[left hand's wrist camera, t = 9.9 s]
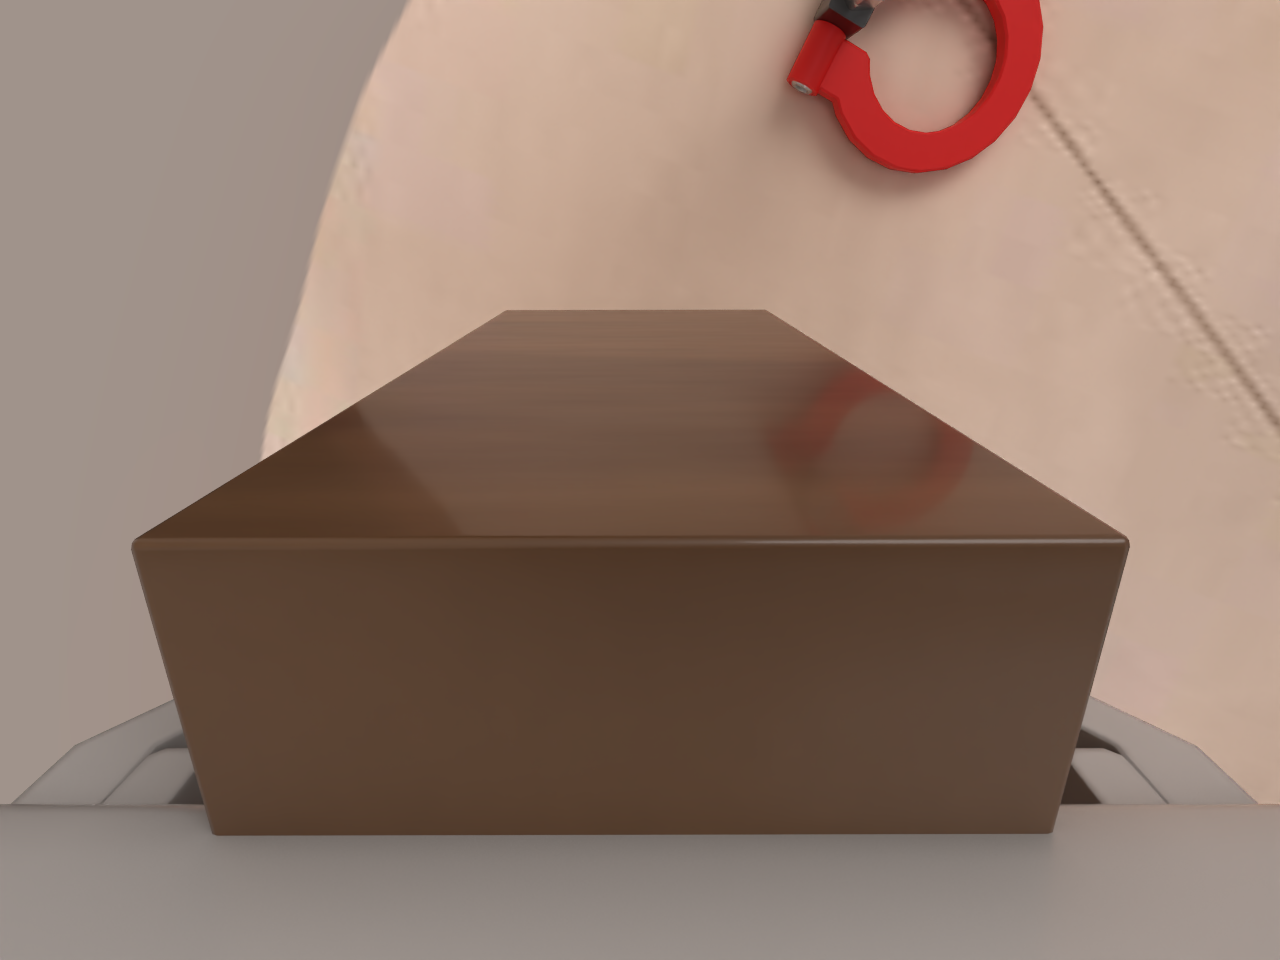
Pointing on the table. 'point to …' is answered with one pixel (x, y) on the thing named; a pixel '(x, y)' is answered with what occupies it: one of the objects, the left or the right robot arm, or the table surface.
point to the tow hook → (848, 86)
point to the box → (631, 601)
